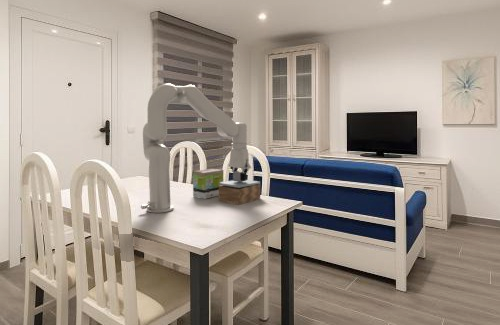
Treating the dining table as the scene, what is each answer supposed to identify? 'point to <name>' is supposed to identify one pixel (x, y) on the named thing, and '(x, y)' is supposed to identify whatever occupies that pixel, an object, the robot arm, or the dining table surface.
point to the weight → (237, 176)
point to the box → (239, 194)
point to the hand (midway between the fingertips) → (239, 179)
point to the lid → (239, 183)
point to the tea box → (207, 183)
